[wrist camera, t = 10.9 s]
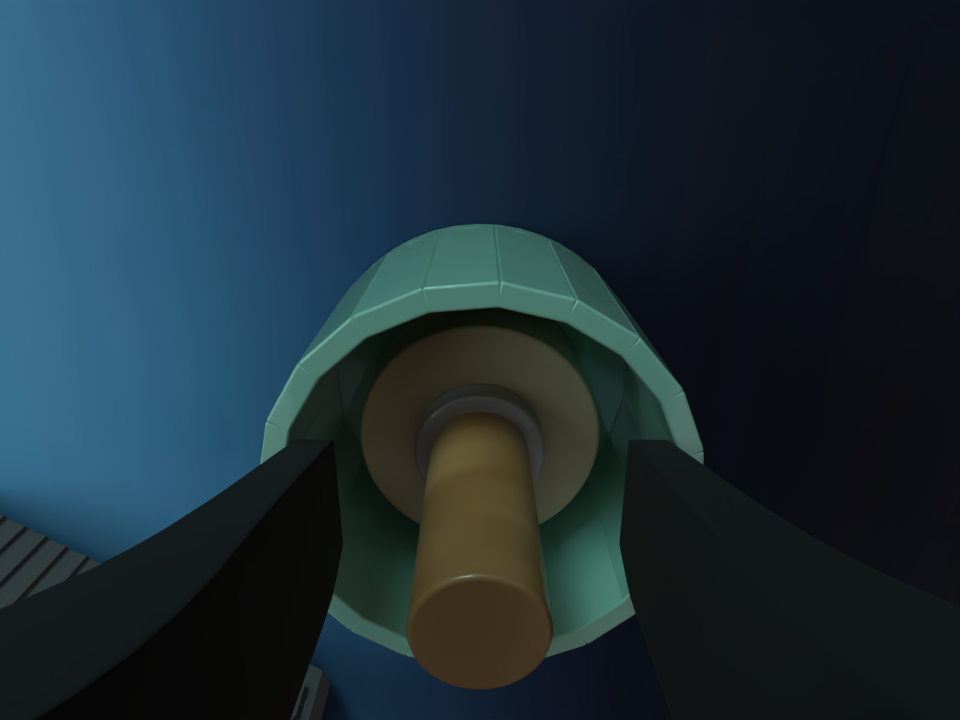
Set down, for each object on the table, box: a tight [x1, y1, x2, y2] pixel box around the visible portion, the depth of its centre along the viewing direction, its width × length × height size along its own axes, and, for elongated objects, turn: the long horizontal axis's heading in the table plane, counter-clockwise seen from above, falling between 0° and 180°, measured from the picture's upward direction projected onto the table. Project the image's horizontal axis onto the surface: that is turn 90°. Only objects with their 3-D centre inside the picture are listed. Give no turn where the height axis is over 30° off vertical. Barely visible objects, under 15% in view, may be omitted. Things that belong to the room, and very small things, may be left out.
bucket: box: [260, 224, 704, 658], centre depth 13 cm, size 7×7×5 cm
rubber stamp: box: [360, 308, 599, 690], centre depth 12 cm, size 5×5×8 cm
